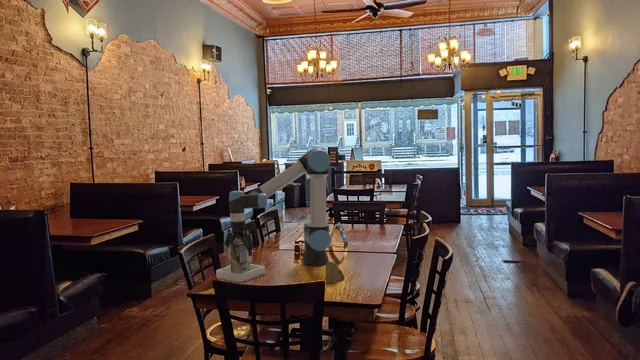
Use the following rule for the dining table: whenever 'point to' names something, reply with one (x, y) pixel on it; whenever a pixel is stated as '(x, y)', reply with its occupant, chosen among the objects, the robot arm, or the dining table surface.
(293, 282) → the dining table surface
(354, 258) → the dining table surface
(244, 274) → the tray
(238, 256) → the coffee box
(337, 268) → the rock
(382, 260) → the dining table surface
